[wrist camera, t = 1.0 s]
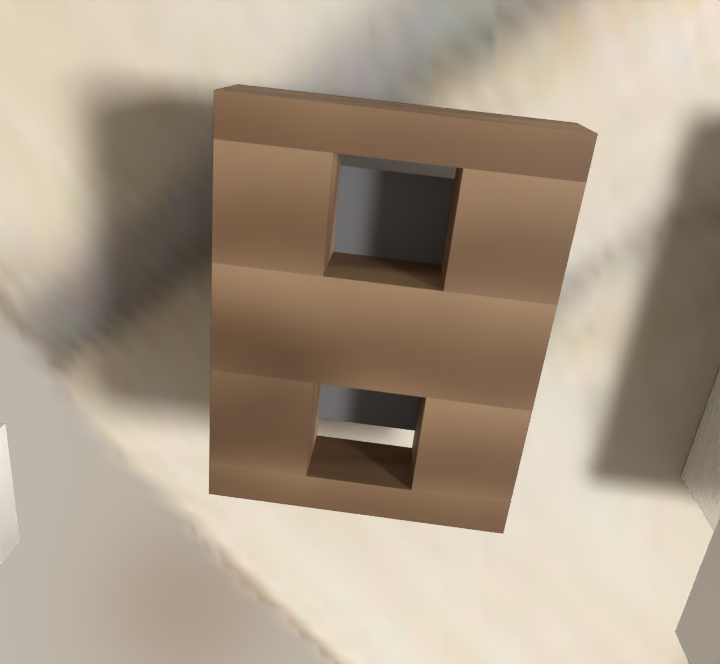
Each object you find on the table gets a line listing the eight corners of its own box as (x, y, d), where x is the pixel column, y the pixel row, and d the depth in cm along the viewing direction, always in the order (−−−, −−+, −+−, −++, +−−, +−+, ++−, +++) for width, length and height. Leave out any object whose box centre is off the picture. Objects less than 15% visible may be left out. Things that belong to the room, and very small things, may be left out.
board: (237, 84, 20) (213, 90, 18) (576, 123, 20) (597, 133, 17) (228, 452, 25) (208, 493, 23) (495, 487, 25) (503, 533, 22)
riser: (318, 142, 24) (299, 160, 21) (484, 162, 24) (495, 183, 20) (301, 364, 28) (284, 413, 24) (445, 382, 28) (449, 434, 24)
